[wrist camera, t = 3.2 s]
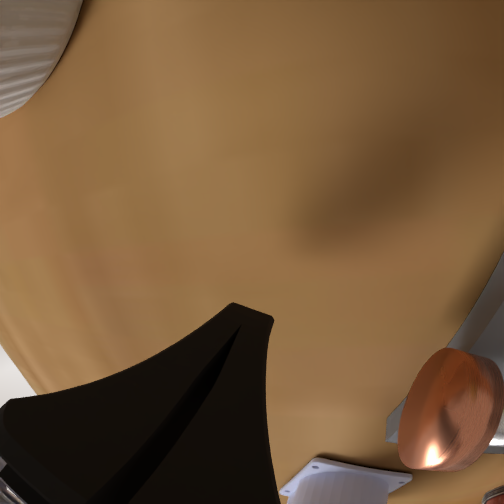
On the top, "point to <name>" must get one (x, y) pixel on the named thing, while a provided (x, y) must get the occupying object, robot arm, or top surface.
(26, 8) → the ramekin
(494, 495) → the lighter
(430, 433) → the shaft
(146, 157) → the top surface
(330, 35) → the top surface
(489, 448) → the housing
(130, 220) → the top surface
